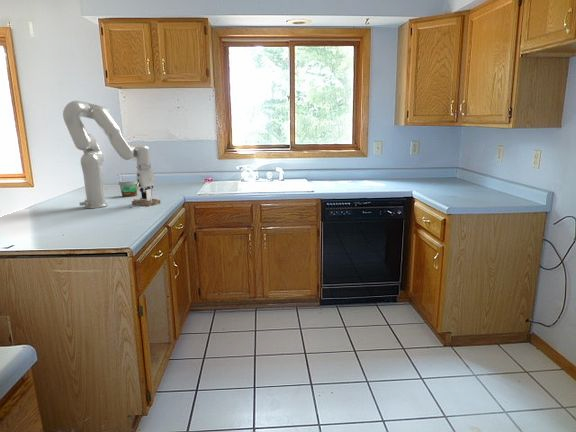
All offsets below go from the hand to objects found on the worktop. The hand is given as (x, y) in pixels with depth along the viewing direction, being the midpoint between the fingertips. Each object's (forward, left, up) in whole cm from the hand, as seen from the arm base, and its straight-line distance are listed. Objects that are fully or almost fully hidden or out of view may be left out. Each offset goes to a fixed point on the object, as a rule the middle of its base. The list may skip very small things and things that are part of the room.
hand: (146, 197), depth 249 cm
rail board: (0, +1, -4) cm, 4 cm away
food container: (+15, +31, -4) cm, 35 cm away
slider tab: (0, 0, -1) cm, 1 cm away
